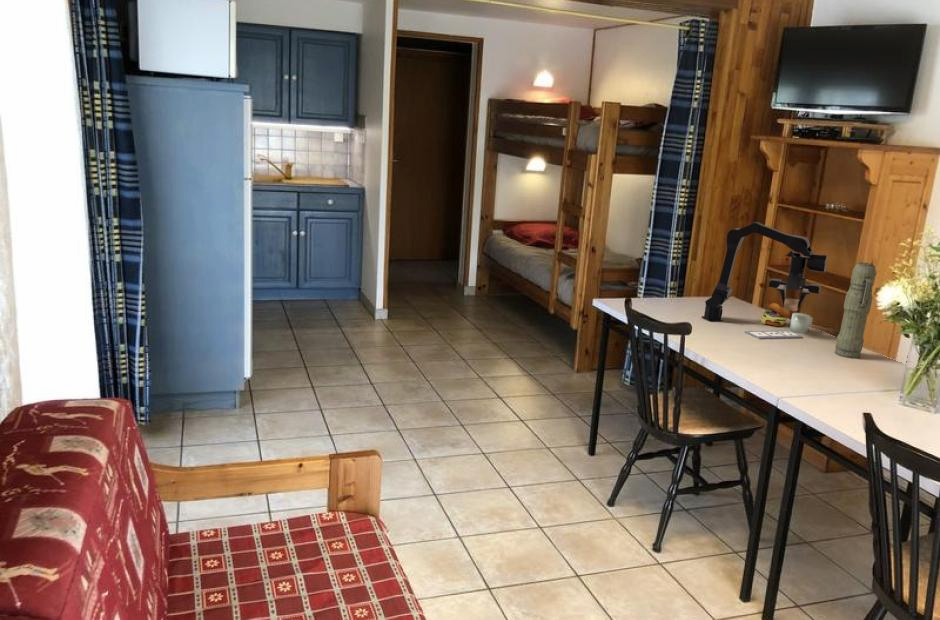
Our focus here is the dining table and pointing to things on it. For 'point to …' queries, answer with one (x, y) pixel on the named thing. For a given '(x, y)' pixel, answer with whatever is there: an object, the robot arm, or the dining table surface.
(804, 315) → the mug
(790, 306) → the brown wooden block
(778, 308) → the cheeseburger
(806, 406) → the dining table surface
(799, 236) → the robot arm
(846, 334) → the thermos
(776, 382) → the dining table surface
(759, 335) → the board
